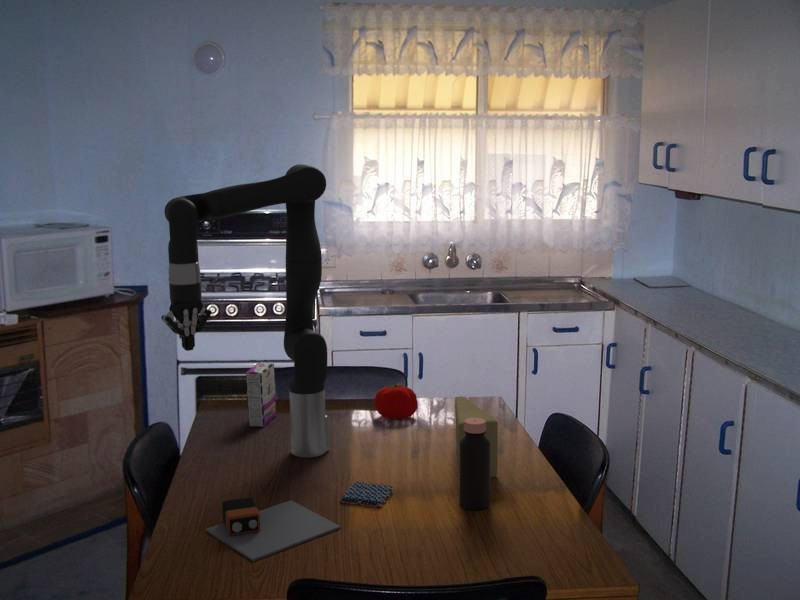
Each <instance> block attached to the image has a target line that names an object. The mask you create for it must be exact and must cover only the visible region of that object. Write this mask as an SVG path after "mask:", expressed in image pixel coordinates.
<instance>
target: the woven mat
mask: <svg viewBox="0 0 800 600" xmlns="http://www.w3.org/2000/svg"><path fill="white" fill-rule="evenodd" d="M393 491H394V487H393V486H392V485H391V486H390V485H389V484H387V485H384V484H381V485H380V484H377V483H375V484H374V483H371V482H369V483H366V482H364V481H362V482H358V480H357V481H355V482H354V483H352V485H351V486H349V488H348V489H347V490H346V491H345V492H344V494H342V496H341V498H340V500H339V501H340V503H341V502H342V504H349V503H350V504H351V505H356V504H357V505H358V506H359V505H360V506H364V505H365V506H366V507H372V506H374V507H373V508H382V507H383V505H384V504H385V503H386V501H387V500H388V501H389V498H390V497H391V495H392V494H394V492H393ZM387 497H388V498H387ZM367 503H368V504H367Z"/></svg>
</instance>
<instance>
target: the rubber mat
mask: <svg viewBox="0 0 800 600" xmlns="http://www.w3.org/2000/svg"><path fill="white" fill-rule="evenodd" d="M258 511H259V514H260V531H259V532H253V533H246V534H240V535H233V536H229V535H228V532H227V529H226V526H225V523H224V522H223V523H220V524H217V525H214V526H210V527H207V528H206V529H205V530H206V532H207V533H208V534H209V535H211V536H213V537H215V538H216V539H218V540H219V541H220V542H222V543H224V544H225V545H227V546H228V547H230V548H231V549H233V550H235V551H236V552H238V553H239V554H241V555H242V556H244V557H245V558H247V559H248V560H249V561H251V562H255V561H258V560H260V559H263V558H265V557H269V556H272V555H274V554H277V553H279V552H282V551H285V550H287V549H290V548H292V547H295V546H299V545H300V544H303V543H305V542H308V541H311V540H314V539H315V538H316V539H317V538H319V537H321V536H324V535H327V534H329V533H332V532H334V531H337V530H340V529H341V525H339V524H337V523H335V522H333V521H331V520H330V519H328V518H326V517H323V516H321V514H318V513H316V512H314V511H313V510H310V509H309V508H307V507H305V506H303V505H301V504H299V503H298V502H295V501H293V500H292V499H290V500H289V501H284V502H282V503H279V504H275V505H273V506H269V507H266V508H264V509H261V510H258Z"/></svg>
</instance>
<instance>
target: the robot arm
mask: <svg viewBox="0 0 800 600" xmlns="http://www.w3.org/2000/svg"><path fill="white" fill-rule="evenodd" d="M326 189H327V178H326V175H325V174H324V173H323V171H322V170H320V169H319V168H317V167H316V166H314V165H309V164H304V163H303V164H302V163H301V164H300V163H298V164H294V165H293V166H291V167H290V168H288V170H287V171H286V173H285V175H283V176H278V177H276V178H272V179H269V180H263V181H257V182H251V183H250V182H249V183H242V184H236V185H230V186H225V187H221V188H218V189H213V190H210V191H207V192H202V193H201V192H200V193H195V194H188V195H181V196H178V197H174V198H171V200H169V201H167V203H166V204H165V207H164V212H163V214H164V217H165V219H166V220H167V222H168V230H169V232H168V233H169V241H168V244H167V245H168V247H167V252H168V253H167V254H168V285H169V287H168V288H169V289H168V290H169V301H170V305H169V310H168V312H167V313H166V314H165V315H164V314H163V315H162V316H161V317H160V319H161V320H162V322H164V323H165V324H166V326H168V328H169V329H170V330H171V331H172V332H173V333H174V334H176V335H178V336H181V337H180V339H181V347H182V349H183V350H184V351H187V352H189V351H193V350H194V348H195V347H196V343H195V342H196V338H195V335H196V334H197V333H198V332H199V333H200V332H202V331H203V328H204V327H205V325H206V323H207V322H208V320H209V318H210V317H211V315H212V310H210V309H207V308H206V307H204V303H203V301H202V281H201V280H202V279H201V277H202V276H201V268H200V262H199V260H200V259H199V247H198V235H199V234H198V233H199V222H202V221H204V220H219V219H223V218H229V217H231V216H235V215H239V214H243V213H247V212H251V211H255V210H258V209H262V208H267V207H271V206H276V205H281V204H282V205H283V204H285V210H286V232H285V234H286V235H285V282H286V283H285V300H286V301H285V303H286V308H285V309H286V311H285V312H286V314H285V321H284V322H285V324H284V334H283V349H284V352H285V354H286V356H287V357H288V358H289V359H291V361H293V376H292V377H291V378H290V379H289V381H288V390H289V392H288V393H289V394H288V395H289V396H288V397H289V415H290V416H289V417H290V418H289V419H290V420H289V421H290V423H289V424H290V445H291V446H290V449H291V455H292V456H294V457H297V458H302V459H303V458H308V459H309V458H310V459H311V458H316V457H320V456H322V455H325V454H326V453H327V452H328V451H330V426H329V425H330V421H329V420H330V419H329V415H326V400H325V399H326V395H325V394H326V392H325V389H326V388H325V385H326V384H325V383H326V382H327V377H328V346H327V342H326V340H325V337H324V336H323V335H321V334H320V333H318V332H317V331H315V330H314V316H313V315H314V313H313V312H314V304H315V300H316V298H317V294H318V292H319V289H320V286H321V281H322V276H323V275H322V273H323V271H322V270H323V269H322V267H323V265H322V264H323V259H322V257H323V255H322V248H321V243H320V242H321V241H320V238H319V235H318V229H317V226H316V220H315V219H316V218H315V210H316V201H317V200H319V198H321V197H322V195H324V194H325V191H326ZM174 320H176V321H177V323H176V322H175V321H174Z"/></svg>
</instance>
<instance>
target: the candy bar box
mask: <svg viewBox="0 0 800 600" xmlns="http://www.w3.org/2000/svg"><path fill="white" fill-rule="evenodd" d="M245 378H246V394H247V395H246V396H247V409H248V410H247V411H248V412H247V413H248V415H247V416H248V426H249V427H252V428H255V427H256V428H265V427H266V426H267V425H268V424H269V423H270V422H271V421H272V420H273V419H274V418H275V417H276V416H278V415H277V399H276V398H277V397H276V379H275V378H276V377H275V363H274V362H265V361H259V362H258V363H257V364H255V365H253V367H251V368H250V369H249V370H247V371H246V372H245Z"/></svg>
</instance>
